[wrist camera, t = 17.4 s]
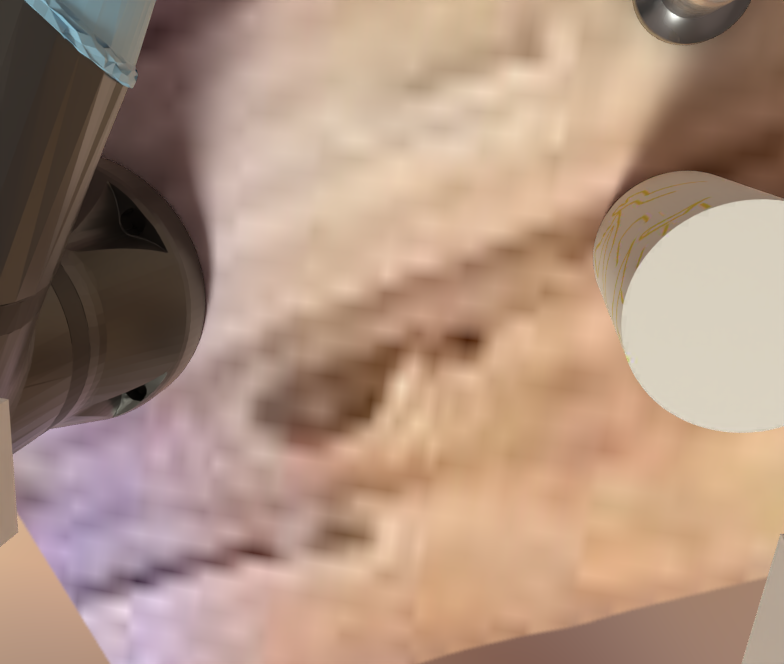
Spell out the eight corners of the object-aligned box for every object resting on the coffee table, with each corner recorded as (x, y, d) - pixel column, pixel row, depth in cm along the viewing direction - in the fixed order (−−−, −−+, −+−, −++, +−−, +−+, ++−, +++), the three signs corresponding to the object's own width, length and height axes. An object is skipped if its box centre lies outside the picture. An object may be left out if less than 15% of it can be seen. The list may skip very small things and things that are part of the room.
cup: (634, 146, 35) (684, 163, 23) (800, 204, 34) (933, 250, 23) (567, 301, 37) (583, 383, 26) (720, 357, 37) (804, 466, 26)
